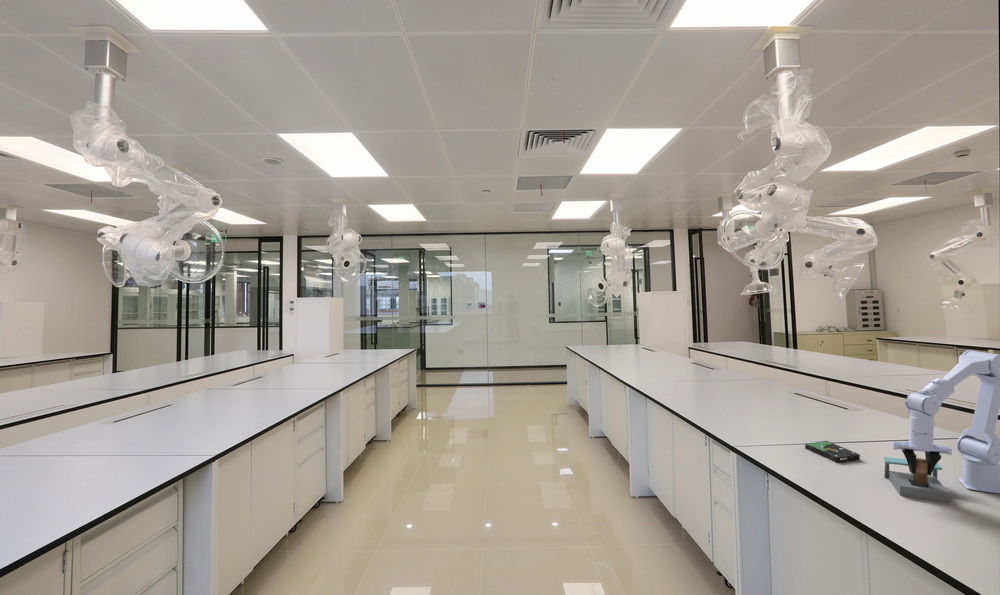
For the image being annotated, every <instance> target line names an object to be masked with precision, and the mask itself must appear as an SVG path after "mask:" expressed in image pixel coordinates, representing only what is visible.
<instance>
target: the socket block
mask: <svg viewBox="0 0 1000 595" xmlns="http://www.w3.org/2000/svg"><path fill="white" fill-rule="evenodd" d="M888 480H889V482H890V481H891V482H890V483H891V485H892V484H893V485H892V486H893V487H894V489H895V491H897V493H898V494H899V496H903V497H910V496H912V497H911V498H917V499H918V498H919V499H923V498H925V500H930V499H934V500H933V501H937V500H939V502H944V503H950V499H951V498H950V497H951V492H950V491H949V490H948V489H947V488H946V487H945V486H944V484H942V482H941V481H940V479H938V477H937V478H936V477H934V476H932V475H931V476H930V475H928V483H927V484H920V483H916V482H914V481H913V474H912V473H911V472H901V471H893V470H889V478H888Z"/></svg>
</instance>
